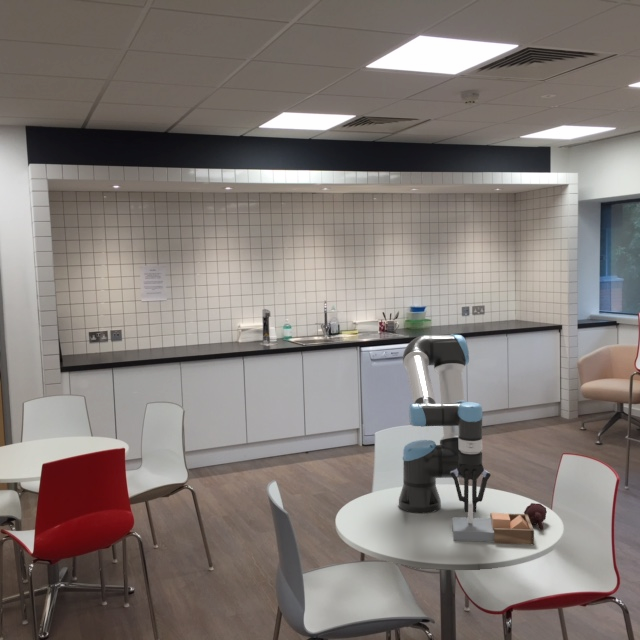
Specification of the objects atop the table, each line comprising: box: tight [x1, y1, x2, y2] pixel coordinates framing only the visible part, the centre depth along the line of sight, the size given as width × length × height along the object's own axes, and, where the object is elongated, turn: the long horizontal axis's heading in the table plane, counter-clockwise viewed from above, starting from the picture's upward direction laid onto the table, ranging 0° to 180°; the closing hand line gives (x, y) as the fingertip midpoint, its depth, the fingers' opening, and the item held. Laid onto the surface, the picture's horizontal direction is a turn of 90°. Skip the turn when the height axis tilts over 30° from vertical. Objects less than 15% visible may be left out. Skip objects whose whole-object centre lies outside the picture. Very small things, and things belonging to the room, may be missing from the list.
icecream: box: [523, 502, 548, 531], centre depth 236 cm, size 7×7×15 cm
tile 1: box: [490, 512, 510, 530], centre depth 227 cm, size 6×6×3 cm
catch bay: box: [489, 512, 535, 546], centre depth 226 cm, size 14×12×4 cm
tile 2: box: [510, 515, 529, 529], centre depth 226 cm, size 6×6×3 cm
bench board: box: [451, 516, 494, 543], centre depth 228 cm, size 12×12×3 cm
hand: (470, 521), depth 229 cm, fingers closed
